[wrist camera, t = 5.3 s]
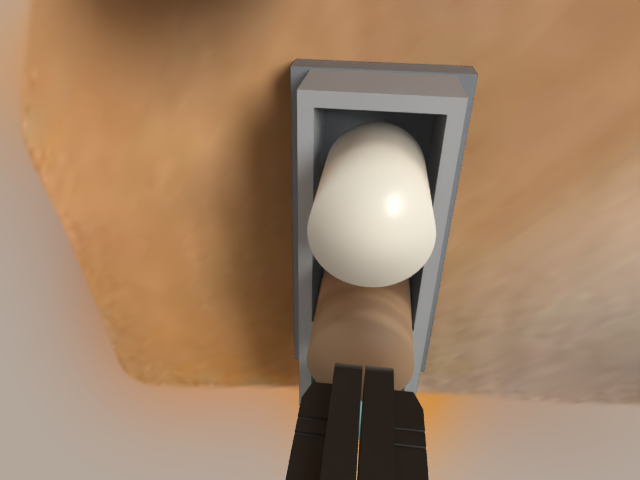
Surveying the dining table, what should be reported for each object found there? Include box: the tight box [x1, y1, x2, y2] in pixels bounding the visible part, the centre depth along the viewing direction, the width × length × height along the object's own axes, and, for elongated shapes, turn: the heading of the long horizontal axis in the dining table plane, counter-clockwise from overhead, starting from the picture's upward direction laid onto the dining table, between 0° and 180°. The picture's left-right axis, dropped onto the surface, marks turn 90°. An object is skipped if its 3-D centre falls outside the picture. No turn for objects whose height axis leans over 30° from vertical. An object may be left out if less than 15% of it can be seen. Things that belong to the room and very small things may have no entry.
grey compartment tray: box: [291, 59, 478, 405], centre depth 30 cm, size 10×22×6 cm, turn 179°
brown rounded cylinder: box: [307, 270, 414, 401], centre depth 25 cm, size 5×5×6 cm
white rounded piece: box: [307, 122, 436, 287], centre depth 22 cm, size 5×5×6 cm
